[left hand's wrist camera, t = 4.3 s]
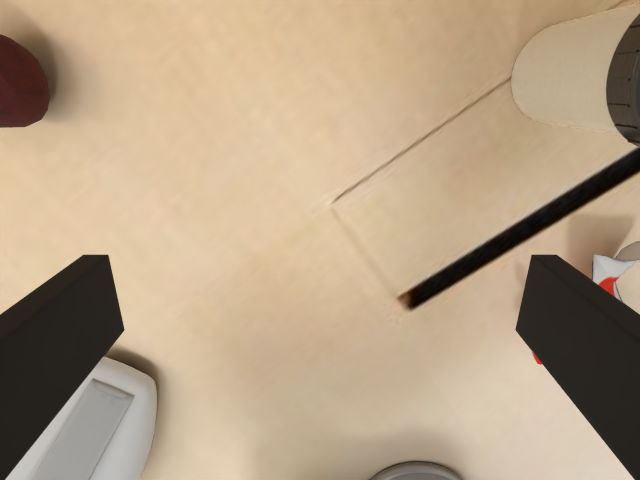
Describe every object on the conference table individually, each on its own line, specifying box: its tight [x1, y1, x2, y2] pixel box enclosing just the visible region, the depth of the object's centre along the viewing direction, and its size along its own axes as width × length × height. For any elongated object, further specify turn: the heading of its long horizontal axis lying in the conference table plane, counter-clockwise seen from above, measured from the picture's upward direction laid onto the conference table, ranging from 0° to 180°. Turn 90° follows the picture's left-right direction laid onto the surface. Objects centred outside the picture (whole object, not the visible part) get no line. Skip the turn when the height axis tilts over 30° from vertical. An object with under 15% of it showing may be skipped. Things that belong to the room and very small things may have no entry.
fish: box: [532, 241, 640, 365], centre depth 40 cm, size 11×16×10 cm
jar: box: [511, 2, 640, 136], centre depth 29 cm, size 8×8×16 cm
